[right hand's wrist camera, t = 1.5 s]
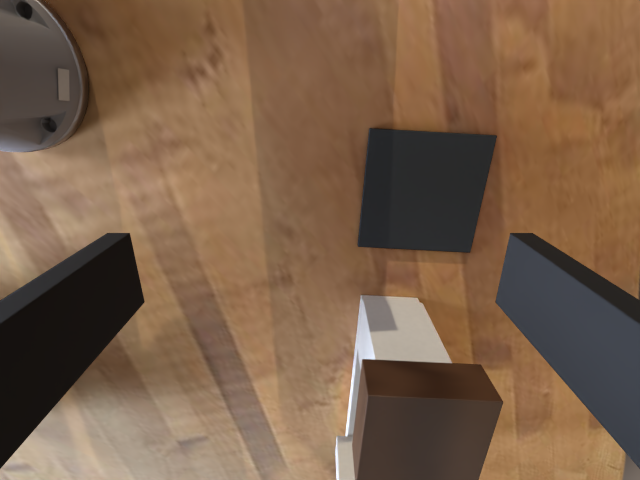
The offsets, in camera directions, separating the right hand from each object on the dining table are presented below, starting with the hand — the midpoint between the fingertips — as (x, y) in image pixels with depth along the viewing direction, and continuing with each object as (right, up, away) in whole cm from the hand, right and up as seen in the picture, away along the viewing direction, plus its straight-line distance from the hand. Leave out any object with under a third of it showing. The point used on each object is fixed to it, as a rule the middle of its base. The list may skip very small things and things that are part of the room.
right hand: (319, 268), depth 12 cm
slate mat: (+11, +6, +26) cm, 29 cm away
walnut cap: (+8, -14, +19) cm, 25 cm away
